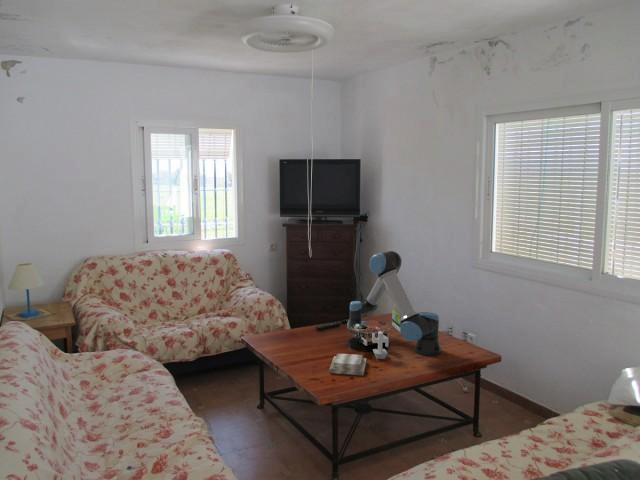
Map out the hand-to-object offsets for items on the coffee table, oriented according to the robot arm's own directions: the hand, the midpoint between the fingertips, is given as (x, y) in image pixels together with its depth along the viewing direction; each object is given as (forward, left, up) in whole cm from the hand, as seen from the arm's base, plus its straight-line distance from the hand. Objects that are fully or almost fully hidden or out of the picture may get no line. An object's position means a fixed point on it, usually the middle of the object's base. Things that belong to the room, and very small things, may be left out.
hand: (377, 341), depth 295 cm
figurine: (-2, +2, -9) cm, 9 cm away
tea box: (-14, -53, -9) cm, 55 cm away
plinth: (+14, +20, -8) cm, 26 cm away
